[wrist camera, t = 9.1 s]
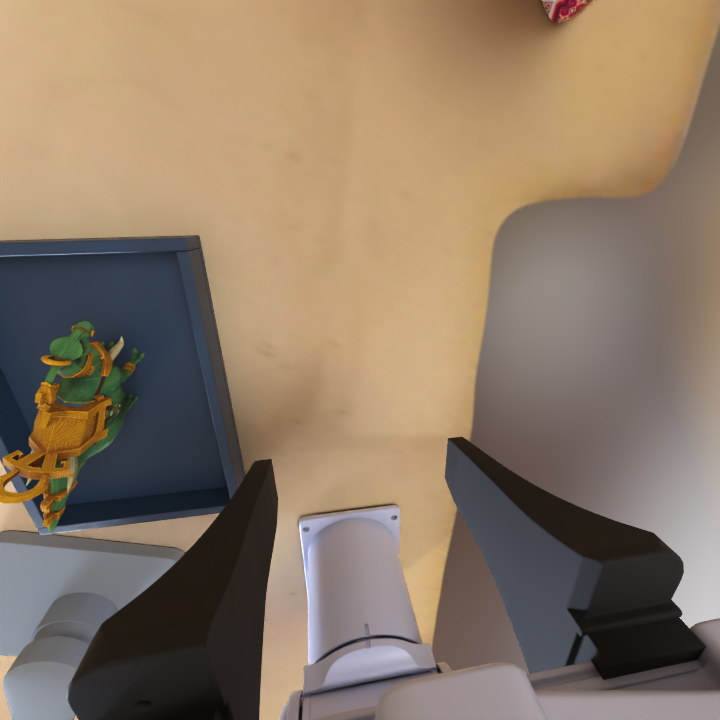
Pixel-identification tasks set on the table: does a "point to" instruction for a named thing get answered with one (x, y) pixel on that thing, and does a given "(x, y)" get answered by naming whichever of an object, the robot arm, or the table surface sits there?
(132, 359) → the figurine
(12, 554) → the shower valve
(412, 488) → the table surface
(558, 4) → the handbag
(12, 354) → the tray
